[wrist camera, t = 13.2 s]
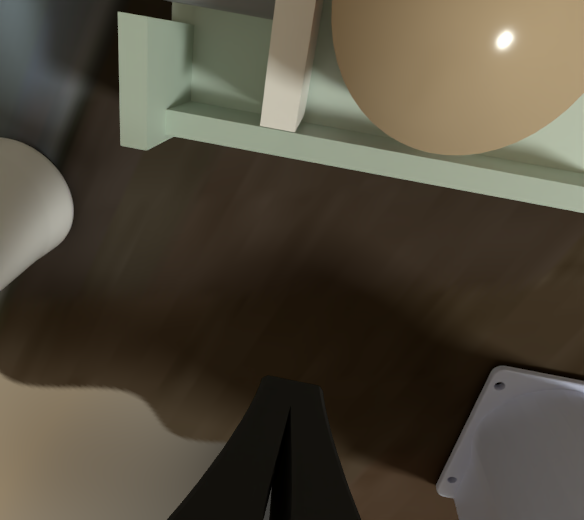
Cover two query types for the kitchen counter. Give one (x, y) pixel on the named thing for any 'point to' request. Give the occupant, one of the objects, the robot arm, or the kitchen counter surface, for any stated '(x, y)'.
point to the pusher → (281, 53)
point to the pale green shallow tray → (311, 111)
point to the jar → (460, 68)
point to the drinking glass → (29, 208)
